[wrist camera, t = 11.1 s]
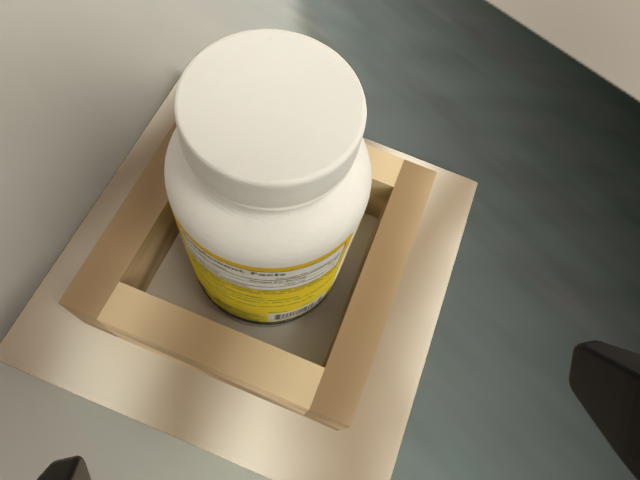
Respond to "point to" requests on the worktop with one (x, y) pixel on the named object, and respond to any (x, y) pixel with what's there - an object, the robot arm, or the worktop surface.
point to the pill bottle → (268, 172)
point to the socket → (245, 340)
